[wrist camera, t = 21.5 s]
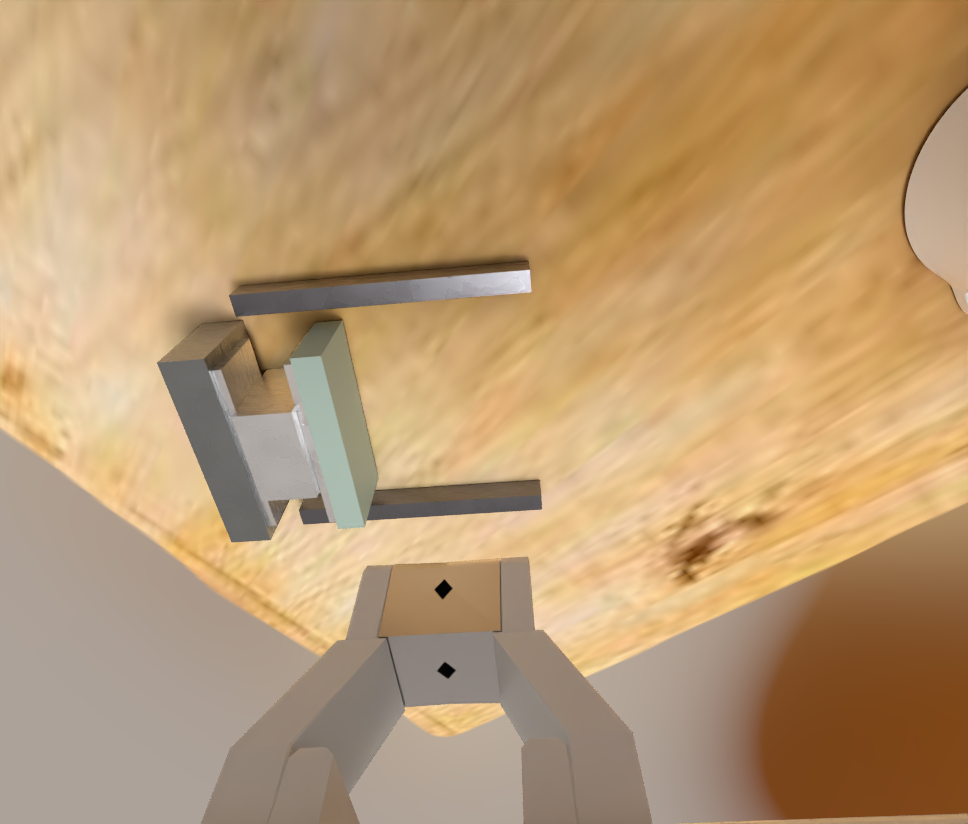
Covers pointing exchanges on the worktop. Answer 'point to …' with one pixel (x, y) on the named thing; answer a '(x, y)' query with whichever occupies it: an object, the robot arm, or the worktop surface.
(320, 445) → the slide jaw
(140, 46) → the worktop surface
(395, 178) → the worktop surface
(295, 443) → the steel block
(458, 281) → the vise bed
